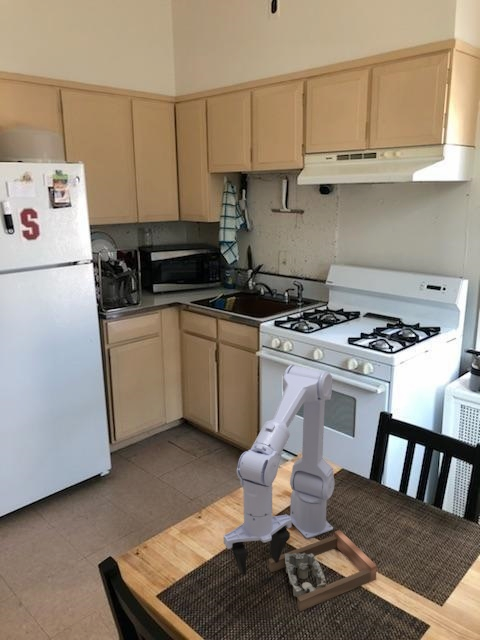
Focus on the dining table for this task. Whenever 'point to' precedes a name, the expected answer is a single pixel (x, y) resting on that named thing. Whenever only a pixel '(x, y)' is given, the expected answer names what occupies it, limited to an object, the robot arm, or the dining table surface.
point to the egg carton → (303, 572)
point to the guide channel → (336, 587)
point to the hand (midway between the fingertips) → (258, 565)
